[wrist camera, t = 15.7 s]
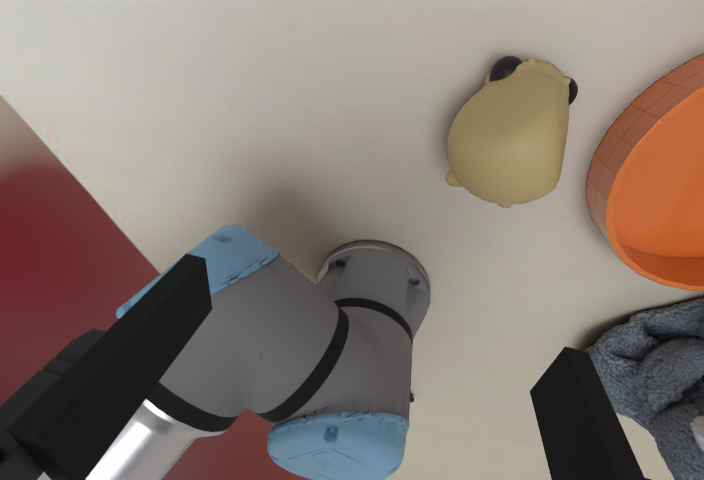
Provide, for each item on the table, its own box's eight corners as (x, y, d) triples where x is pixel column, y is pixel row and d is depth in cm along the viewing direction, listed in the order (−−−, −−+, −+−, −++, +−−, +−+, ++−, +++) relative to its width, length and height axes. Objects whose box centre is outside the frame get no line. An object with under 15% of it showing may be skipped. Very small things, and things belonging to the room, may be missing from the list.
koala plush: (743, 381, 44) (920, 594, 28) (582, 395, 51) (649, 571, 35) (748, 280, 36) (992, 491, 20) (559, 313, 44) (630, 488, 28)
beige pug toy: (538, 129, 36) (637, 58, 25) (508, 233, 33) (605, 202, 23) (453, 89, 35) (519, -1, 24) (415, 192, 32) (471, 141, 22)
